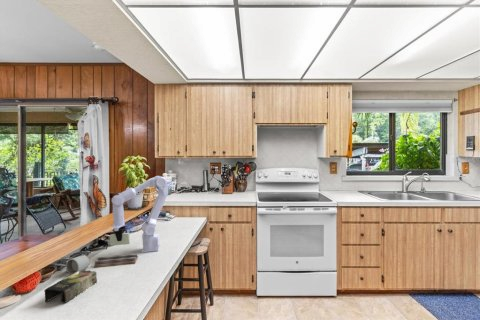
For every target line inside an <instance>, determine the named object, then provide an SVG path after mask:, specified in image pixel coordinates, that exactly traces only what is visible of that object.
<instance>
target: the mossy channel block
mask: <svg viewBox="0 0 480 320" xmlns="http://www.w3.org/2000/svg"><path fill="white" fill-rule="evenodd" d="M97 275H98V273H97V271H96V270H89V269H88V270H83V271H78V272H76V273H74V274H72V275H71V274H69V276H66V277H65V278H63V279H61V280H59V281H57V282H56V283H54V284H53V285H50V286H48V287H47V288H45V289H44V302H45V303H46V302H47V303H48V302H49V301H50V299H51V300H52V299H54V298H56V297H58V295H60V294H61V299H60V302H61V303H63V304H64V303H65V304H66V303H67V302H69V301H70V300H73V299H75V296H76V297H77V295H78V296H79V295H81V294H82V293H84V292H85V291H86V289H87V290H88V289H90V288H91V287H93V286H94V285H96V284H97V283H98V277H97ZM95 283H96V284H95ZM92 285H93V286H92ZM90 286H91V287H90ZM89 287H90V288H89ZM83 291H84V292H83ZM80 293H81V294H80ZM48 300H49V301H48Z"/></svg>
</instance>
